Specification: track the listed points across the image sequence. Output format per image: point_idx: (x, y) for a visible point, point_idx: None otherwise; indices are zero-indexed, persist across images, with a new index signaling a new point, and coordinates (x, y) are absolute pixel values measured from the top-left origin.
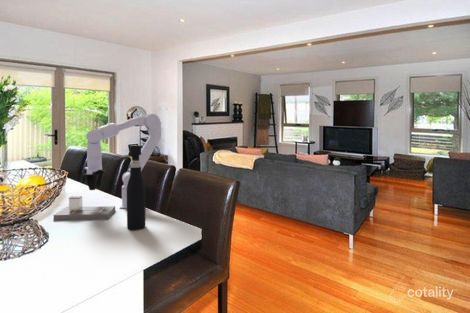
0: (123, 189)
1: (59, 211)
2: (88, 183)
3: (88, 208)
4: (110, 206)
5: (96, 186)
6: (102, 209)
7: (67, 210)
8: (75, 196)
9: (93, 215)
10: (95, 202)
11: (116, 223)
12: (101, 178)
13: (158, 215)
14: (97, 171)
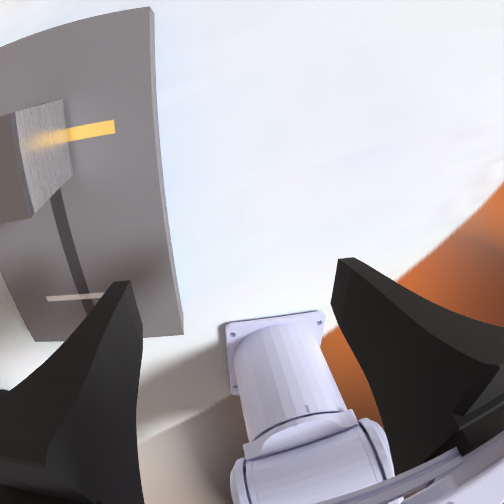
0: (264, 425)
1: (20, 41)
2: (74, 343)
3: (104, 202)
4: (173, 315)
5: (336, 271)
6: (97, 297)
7: (43, 77)
8: (1, 162)
9: (9, 281)
10: (399, 135)
11: (15, 361)
12: (371, 386)
13: (140, 437)
14: (434, 442)
